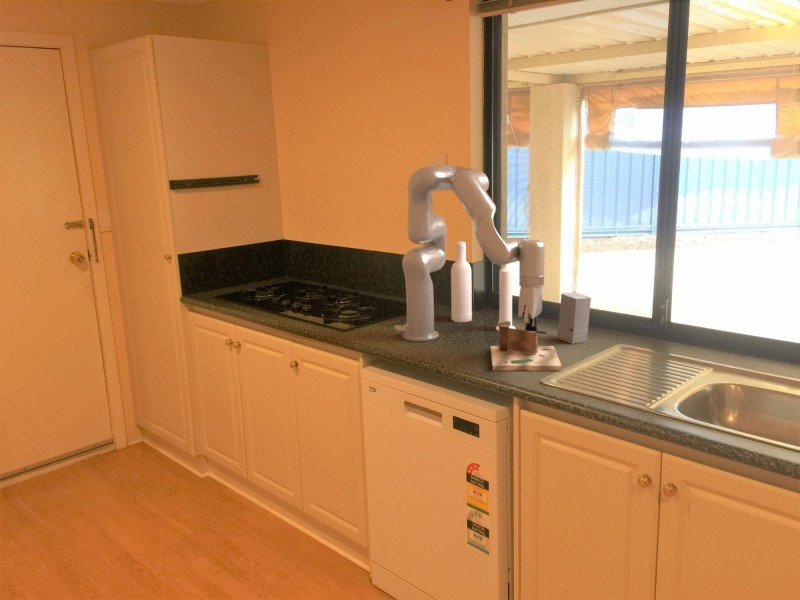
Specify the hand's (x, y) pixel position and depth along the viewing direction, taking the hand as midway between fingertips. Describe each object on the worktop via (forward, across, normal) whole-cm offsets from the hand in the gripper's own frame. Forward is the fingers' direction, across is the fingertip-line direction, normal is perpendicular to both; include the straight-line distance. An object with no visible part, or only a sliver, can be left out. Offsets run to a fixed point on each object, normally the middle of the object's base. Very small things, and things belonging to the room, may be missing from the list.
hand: (531, 337), depth 212 cm
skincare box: (+6, -22, +8) cm, 24 cm away
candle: (+6, -26, -18) cm, 32 cm away
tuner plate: (+6, +6, 0) cm, 8 cm away
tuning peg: (+4, +3, -2) cm, 5 cm away
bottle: (+6, -33, -38) cm, 51 cm away
